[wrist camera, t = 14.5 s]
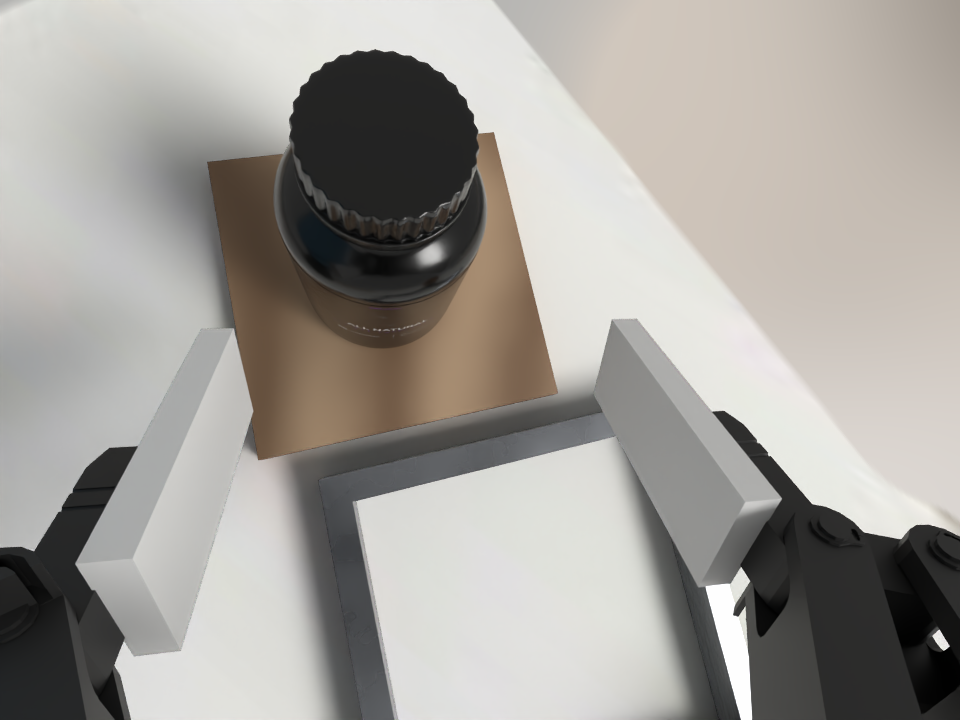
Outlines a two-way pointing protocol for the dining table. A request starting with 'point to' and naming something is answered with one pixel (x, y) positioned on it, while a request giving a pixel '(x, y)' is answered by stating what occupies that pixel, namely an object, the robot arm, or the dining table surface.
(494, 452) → the metal rim
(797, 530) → the robot arm
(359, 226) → the supplement bottle
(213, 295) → the dining table surface
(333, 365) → the walnut board
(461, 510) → the dining table surface
